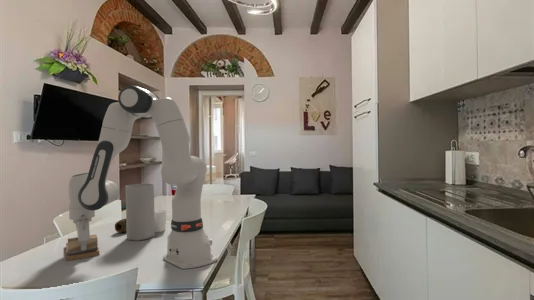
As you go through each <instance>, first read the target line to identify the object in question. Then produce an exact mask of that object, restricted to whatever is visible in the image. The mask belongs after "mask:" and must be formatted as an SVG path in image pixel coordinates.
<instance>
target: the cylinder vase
mask: <svg viewBox="0 0 534 300" xmlns="http://www.w3.org/2000/svg"><path fill="white" fill-rule="evenodd" d="M154 210H155V184H153V183H136V184H135V183H134V184H128V185H127V184H126V185H125V219H126V228H127V232H126V238H127V240H128V241H144V240H148V239H151V238H153V237H154V236H155V234H156V232H155V218H154Z"/></svg>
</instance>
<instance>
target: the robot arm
mask: <svg viewBox="0 0 534 300" xmlns="http://www.w3.org/2000/svg"><path fill="white" fill-rule="evenodd" d="M117 96H118V97H117V98H118V101H117V102H116V101H115V102H112V103H110V104H109V105H108V107H107V110H106V112H105V114H104V117H103V120H102V126H101V130H100V133H99V138H98V143H97V145H96V148H95V151H94V153H93V157H92V159H91V162H90V163H91V164H90V167H89V170H88V172H84V173H80V174H79V173H78V174H75V175H72V176H71V177H70V179H69V184H68V198H69V206H68V214H69V217H68V219H69V221H70V220H71V221H73V222H72V223H73V224H75V229H76V234H77V237H78V241H79V242H80V243H81V250H86V244H87V241H89V240H90V235H91V234H90V222H92V220H93V219H92V218H95V216H96V214H95V213H96V211H98V210H100V209H102V208H103V207H105V206H107V205H109V204H112V203H113V202H114V201H115V202H116V200H117V199H118V198H119V197H120V194H121V193H120V192H121V191H120V187H119V185H118V184H117V183H116V182H115V181H113V180H108V175H109V172H110V167H111V164H112V162H113V160H114V159H115V157H117V155H119V154H120V153H122V152H123V151H125V150H126V149H127V148H128V146H129V143H130V141H131V137H132V133H133V126H134V123H135V122H136V120H138V119H139V120H148V119H153V123H154V124H155V127H156V130H157V133H158V136H159V140H160V143H161V147H162V155H163V157H162V159H163V164H162V167H161V170H160V176H161V178H162V180H163V181H164V182H165V183H166V184H167V185H170V186H174V187H175V186H176V187H175V192H174V195H173V197H172V200H171V217H172V218H171V221H170V229H171V231H170V233H169V234H168V236H167V245H166V246H167V247H166V254H164V255H163V258H162V259H163V260H164V261H166V262H167V263H170V264H172V265H173V266H175V267H178V268H180V269H182V270H183V269H193V268H199V267H204V266H207V265H211V264H212V263H215V262H217V261H218V257H217V256H216V254H215V253H214V251H213V250H212V249H211V246H213V239H209V236H208V234H206V232H205V230H204V222H203V217H202V207H201V205H202V203H201V202H202V201H201V200H202V192H203V186H204V179H205V176H206V174H207V170H208V167H207V164H206V162H205V160H203V159H202V158H201V157H198V156H195V155H191V153H190V151H191V150H190V142H191V138H190V135H189V131H188V128H187V126H186V123H185V120H184V117H183V114H182V112H181V110H180V107H179V106H178V104H177V102H176V101H175V100H174V99H173V98H171V97H161V98H160V97H159V96H157V95H156V94H154V93H152V92H151V91H150V90H147V89H146V88H142V87H140V86H138V85H128V86H125V87H123V88H122V89H120V91H119V94H118V95H117Z"/></svg>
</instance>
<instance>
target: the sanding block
mask: <svg viewBox="0 0 534 300" xmlns="http://www.w3.org/2000/svg"><path fill="white" fill-rule="evenodd" d="M67 243H68V255H70V254H75V253H81V252H87V251H92V250H98V249H99V244H98V236H97V234H90V240H89V241H87V244H86V250H81V243H80V242H79V241H78V236H75V237H71V238H67Z"/></svg>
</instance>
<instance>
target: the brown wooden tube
mask: <svg viewBox="0 0 534 300" xmlns="http://www.w3.org/2000/svg"><path fill="white" fill-rule="evenodd" d="M114 230H115V231H116V232H117V233H119V234H123V233H127V228H126V218H123V219H122V218H121V219H120V220H118V221H117V222H116V223H115V224H114Z"/></svg>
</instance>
